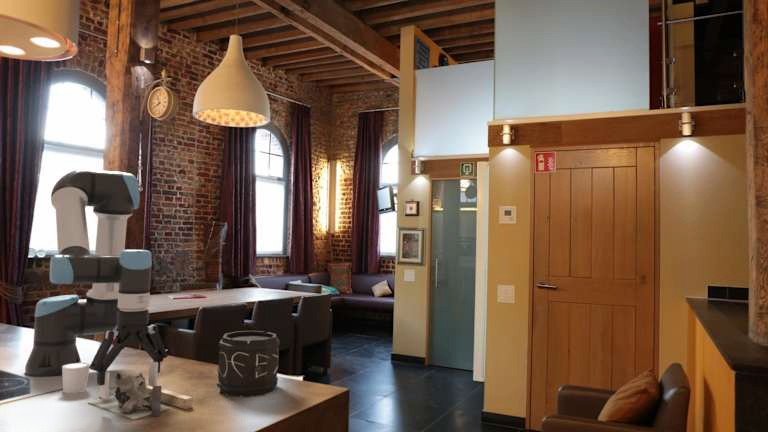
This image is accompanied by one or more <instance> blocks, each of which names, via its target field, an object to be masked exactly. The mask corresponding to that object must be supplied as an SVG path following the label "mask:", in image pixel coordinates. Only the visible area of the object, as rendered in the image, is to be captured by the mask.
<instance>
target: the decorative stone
mask: <svg viewBox="0 0 768 432" xmlns="http://www.w3.org/2000/svg"><path fill="white" fill-rule="evenodd" d="M114 380H115V385H116V388H115V390H113V393H114V395H115V398H116V399H117V401H118V403H119V404H118V405H119V408H121V407H122V410H123V412H128V413H130V412H131V411H133V410H134V409H135V408H140V407H143V408H147V409H149V410H151V411H152V392H150V393H149V394H148V395H146V390H147V387H146V384H147V382H146V378H145V377H144V375H143V373H142V372H139V373H137V374H136V375H127V376H126V377H125V376H124V377H123V375H121V374H120V373H119V372H117V373H116V374H114Z"/></svg>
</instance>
